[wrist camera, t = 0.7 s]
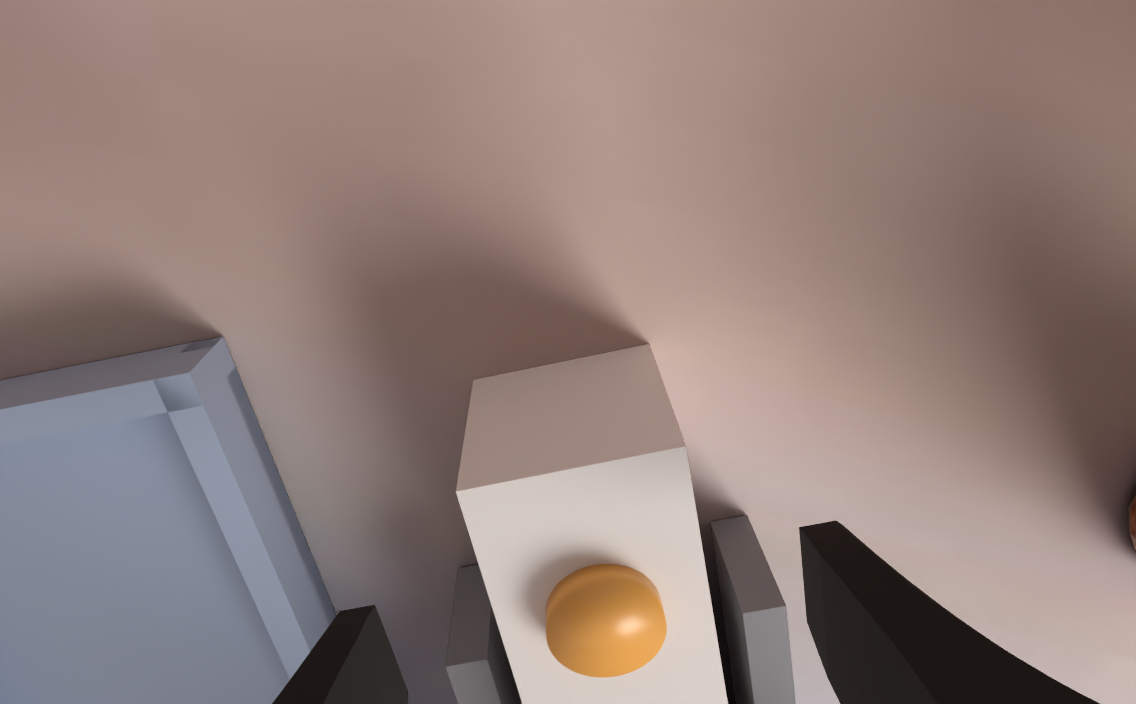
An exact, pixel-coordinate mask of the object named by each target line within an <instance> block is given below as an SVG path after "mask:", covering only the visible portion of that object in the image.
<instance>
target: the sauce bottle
mask: <svg viewBox="0 0 1136 704" xmlns="http://www.w3.org/2000/svg"><path fill="white" fill-rule="evenodd" d="M1128 512H1129V533H1130V536H1131V538H1132V542H1133V545H1134V549H1135V552H1136V494H1135V496H1134V497H1133V499H1132V501H1131V504H1130V505H1129V507H1128Z"/></svg>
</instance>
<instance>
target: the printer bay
mask: <svg viewBox="0 0 1136 704" xmlns="http://www.w3.org/2000/svg"><path fill="white" fill-rule="evenodd" d="M711 529H712V536H713V543H714V551H715V558H716V565H717V572H718V579H719V586H720V593H721V600H722V607H723V615H724V622H725V629H726V636H727V643H728V650H729V657H730V664H731V671H732V679H733V686H734V693H735V700H736V704H796V703H795V693H794V683H793V672H792V662H791V652H790V641H789V631H788V621H787V611H786V605H785V602H784V600H783V598H782V595H781V593H780V591H779V588H778V586H777V584H776V581H775V579H774V577H773V574H772V572H771V570H770V567H769V565H768V563H767V560H766V558H765V556H764V553H763V551H762V549H761V546H760V544H759V542H758V539H757V537H756V535H755V532H754V530H753V528H752V525H751V523H750V521H749V519H748V516H747V515H744V516H739V517H733V518H728V519H722V520H717V521H712V522H711ZM445 668H446V671H447V674H448V677H449V679H450V682H451V685H452V688H453V691H454V694H455V697H456V700H457V703H458V704H522V701H521V698H520V695H519V692H518V688H517V685H516V682H515V679H514V676H513V672H512V669H511V666H510V663H509V660H508V657H507V653H506V650H505V647H504V644H503V641H502V637H501V634H500V631H499V628H498V625H497V622H496V618H495V615H494V612H493V609H492V606H491V602H490V599H489V596H488V593H487V590H486V587H485V583H484V580H483V577H482V574H481V571H480V567H479V564H477V565H472V566H467V567H461V568H458V573H457V580H456V588H455V596H454V603H453V611H452V619H451V626H450V634H449V642H448V649H447V657H446V664H445Z"/></svg>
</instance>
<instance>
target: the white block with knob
mask: <svg viewBox="0 0 1136 704" xmlns="http://www.w3.org/2000/svg"><path fill="white" fill-rule="evenodd" d="M456 494H457V497H458V501H459V504H460V507H461V510H462V513H463V516H464V520H465V523H466V526H467V529H468V532H469V536H470V539H471V542H472V545H473V548H474V551H475V555H476V558H477V561H478V564H479V567H480V571H481V574H482V577H483V580H484V583H485V587H486V590H487V593H488V596H489V599H490V602H491V606H492V609H493V612H494V615H495V618H496V622H497V625H498V628H499V631H500V634H501V637H502V641H503V644H504V647H505V650H506V653H507V657H508V660H509V663H510V666H511V669H512V672H513V676H514V679H515V682H516V685H517V688H518V692H519V695H520V698H521V701H522V704H728V700H727V694H726V688H725V682H724V676H723V670H722V664H721V658H720V652H719V645H718V639H717V633H716V627H715V621H714V615H713V609H712V603H711V597H710V590H709V584H708V578H707V572H706V566H705V560H704V554H703V548H702V541H701V535H700V529H699V523H698V517H697V511H696V505H695V499H694V493H693V486H692V480H691V474H690V468H689V462H688V456H687V450H686V445H685V442H684V439H683V437H682V434H681V431H680V428H679V425H678V423H677V420H676V417H675V414H674V411H673V408H672V406H671V403H670V400H669V397H668V394H667V392H666V389H665V386H664V383H663V380H662V378H661V375H660V372H659V369H658V366H657V364H656V361H655V358H654V355H653V352H652V349H651V347H650V344H647V345H642V346H637V347H632V348H627V349H622V350H617V351H612V352H607V353H602V354H598V355H593V356H588V357H583V358H578V359H573V360H568V361H563V362H558V363H553V364H548V365H544V366H539V367H534V368H529V369H524V370H519V371H514V372H509V373H504V374H499V375H495V376H490V377H485V378H480V379H475V380H473V385H472V391H471V397H470V404H469V410H468V417H467V423H466V429H465V436H464V442H463V448H462V455H461V461H460V468H459V474H458V480H457V487H456Z"/></svg>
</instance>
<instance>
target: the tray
mask: <svg viewBox="0 0 1136 704" xmlns="http://www.w3.org/2000/svg"><path fill="white" fill-rule="evenodd" d="M336 616H337V615H336V613H335V610H334V608H333V605H332V603H331V600H330V598H329V595H328V593H327V591H326V588H325V586H324V583H323V581H322V578H321V576H320V573H319V571H318V568H317V566H316V563H315V561H314V559H313V556H312V554H311V551H310V549H309V546H308V544H307V541H306V539H305V536H304V534H303V531H302V529H301V526H300V524H299V522H298V519H297V517H296V514H295V512H294V509H293V507H292V504H291V502H290V499H289V497H288V494H287V492H286V489H285V487H284V485H283V482H282V480H281V477H280V475H279V472H278V470H277V467H276V465H275V462H274V460H273V457H272V455H271V453H270V450H269V448H268V445H267V443H266V440H265V438H264V435H263V433H262V430H261V428H260V425H259V423H258V420H257V418H256V416H255V413H254V411H253V408H252V406H251V403H250V401H249V398H248V396H247V393H246V391H245V388H244V386H243V384H242V381H241V379H240V376H239V374H238V371H237V369H236V366H235V364H234V361H233V359H232V356H231V354H230V351H229V349H228V347H227V344H226V342H225V339H224V337H218V338H213V339H208V340H202V341H197V342H192V343H187V344H182V345H177V346H172V347H167V348H162V349H157V350H152V351H147V352H142V353H136V354H131V355H126V356H121V357H116V358H111V359H106V360H101V361H96V362H91V363H86V364H81V365H76V366H70V367H65V368H60V369H55V370H50V371H45V372H40V373H35V374H30V375H25V376H20V377H15V378H10V379H4V380H0V704H272V703H273V702H274V700H275V699H276V698H277V696H278V695H279V694H280V692H281V691H282V690H283V688H284V687H285V686H286V684H287V683H288V682H289V680H290V679H291V678H292V676H293V675H294V673H295V672H296V671H297V669H298V668H299V667H300V665H301V664H302V662H303V661H304V660H305V658H306V657H307V656H308V654H309V653H310V651H311V650H312V649H313V647H314V646H315V644H316V643H317V642H318V640H319V639H320V638H321V636H322V635H323V634H324V632H325V631H326V629H327V628H328V627H329V625H330V624H331V623H332V621H333V620H334V619H335V617H336Z"/></svg>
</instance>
